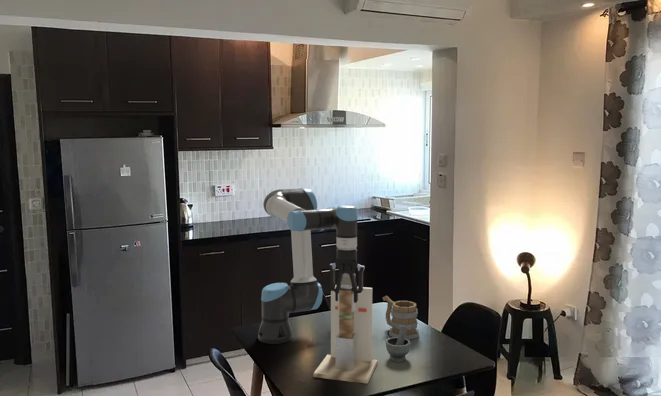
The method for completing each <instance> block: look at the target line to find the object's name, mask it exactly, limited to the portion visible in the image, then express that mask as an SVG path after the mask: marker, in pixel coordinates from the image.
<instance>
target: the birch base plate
mask: <svg viewBox="0 0 661 396" xmlns="http://www.w3.org/2000/svg"><path fill="white" fill-rule="evenodd" d="M377 365H378V360H377V359H372V361H362V360H357V365H356V366H355V368H354V370H353V371H349V370H341V369H336V358H335V357H331V354H329V353H327V354H326V356H325V357H324V358H323V360H322V361H321V362H320V364H319V365H318V366H317V368H316V369H315V370H314V372H313V378H320V379H327V380H336V381H343V382H344V381H345V382H350V383H361V384H369V381H370V379H371V378H372V376H373V373H374V371H375V369H376V367H377Z"/></svg>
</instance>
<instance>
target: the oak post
mask: <svg viewBox="0 0 661 396" xmlns="http://www.w3.org/2000/svg"><path fill="white" fill-rule="evenodd" d="M352 293H353V289H352V286H351V285H342V286H341V287H340V288H339V337H343V338H352V337H353V335H354V312H351V299H352Z"/></svg>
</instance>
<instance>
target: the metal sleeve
mask: <svg viewBox="0 0 661 396" xmlns="http://www.w3.org/2000/svg"><path fill="white" fill-rule="evenodd" d="M356 365H357V333H354V335H353V337H352V338H343V337H339V334H338V335H337V336H336V369H341V370H349V371H353V370H354V368H355V366H356Z"/></svg>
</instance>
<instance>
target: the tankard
mask: <svg viewBox="0 0 661 396" xmlns="http://www.w3.org/2000/svg"><path fill="white" fill-rule="evenodd" d="M382 300H383V301H382V302H385V301H386V303H387V305H386V306H387V307H386V311H385V321H386V324H387V325H389V326H390V328H389V332H388V334H389V336H390V338H394V337H398V336H399V333H400V330H401V326H405V327H407V328H408V329H407V330H406V336H405V339H408V340H409V341H410V340H413V339H417V338H419V335H420V334H419V329H418V324H419V323H418V318H417V317H418V314H419V312H418V308H417V303H416V302H413V301H409V300H397V301H393V300H392V299H391V298H390V297H389V296H388V295H385V296H383V297H382ZM391 317H392V318H391Z"/></svg>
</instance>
